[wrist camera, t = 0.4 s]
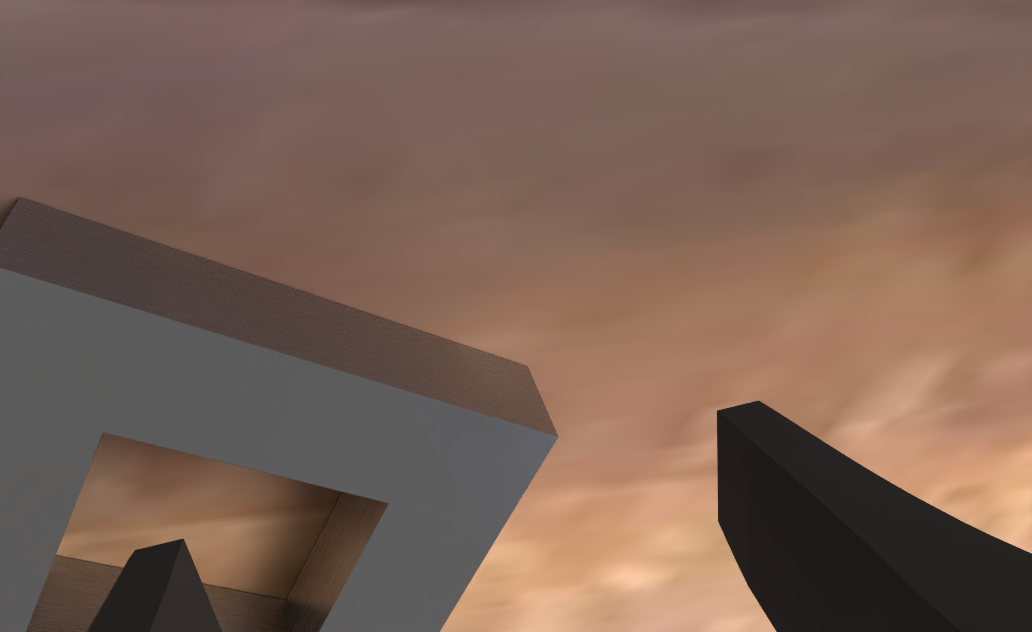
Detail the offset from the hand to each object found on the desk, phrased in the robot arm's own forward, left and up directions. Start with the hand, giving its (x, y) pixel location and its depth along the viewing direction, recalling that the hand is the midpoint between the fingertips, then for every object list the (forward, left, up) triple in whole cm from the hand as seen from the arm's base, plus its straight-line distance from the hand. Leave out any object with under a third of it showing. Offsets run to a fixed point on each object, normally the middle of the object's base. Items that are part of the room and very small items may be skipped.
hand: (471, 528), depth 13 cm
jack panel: (-9, +11, -10) cm, 17 cm away
